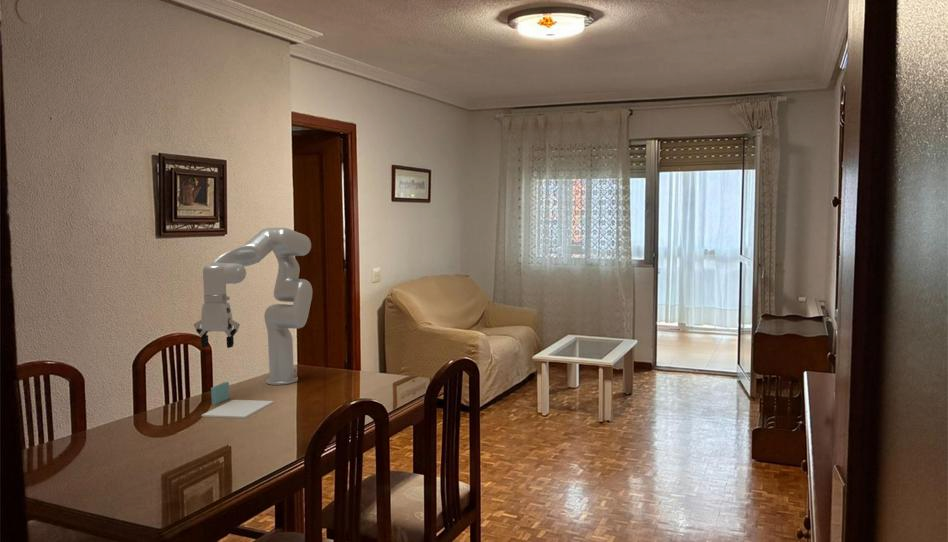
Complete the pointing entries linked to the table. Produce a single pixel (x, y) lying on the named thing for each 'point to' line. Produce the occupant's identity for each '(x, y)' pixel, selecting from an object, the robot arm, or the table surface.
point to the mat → (237, 409)
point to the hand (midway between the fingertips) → (217, 347)
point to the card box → (220, 392)
